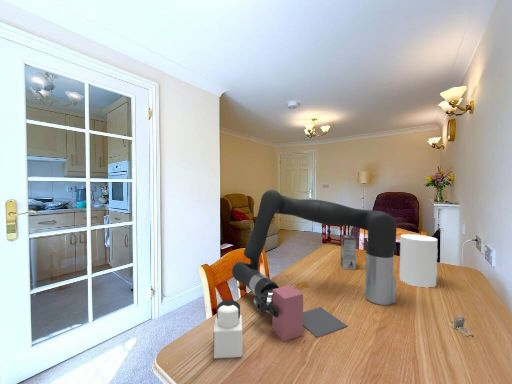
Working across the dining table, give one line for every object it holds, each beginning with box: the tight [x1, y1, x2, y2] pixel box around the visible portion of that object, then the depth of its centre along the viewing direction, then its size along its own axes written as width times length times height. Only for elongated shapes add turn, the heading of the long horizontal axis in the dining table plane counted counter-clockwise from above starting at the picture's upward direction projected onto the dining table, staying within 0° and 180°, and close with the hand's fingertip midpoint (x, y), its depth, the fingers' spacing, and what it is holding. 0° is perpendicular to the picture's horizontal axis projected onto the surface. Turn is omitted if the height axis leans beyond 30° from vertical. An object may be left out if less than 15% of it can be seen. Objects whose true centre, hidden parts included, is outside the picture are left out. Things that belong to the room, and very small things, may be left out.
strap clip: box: [453, 315, 474, 335], centre depth 70 cm, size 8×3×4 cm, turn 6°
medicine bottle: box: [213, 299, 243, 359], centre depth 61 cm, size 7×7×12 cm
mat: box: [303, 306, 348, 339], centre depth 74 cm, size 12×12×1 cm
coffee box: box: [340, 234, 357, 271], centre depth 123 cm, size 9×6×16 cm
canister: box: [399, 233, 438, 289], centre depth 104 cm, size 14×14×20 cm
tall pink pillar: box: [271, 284, 304, 342], centre depth 68 cm, size 6×6×12 cm
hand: (290, 310), depth 67 cm, fingers open, 8 cm apart
